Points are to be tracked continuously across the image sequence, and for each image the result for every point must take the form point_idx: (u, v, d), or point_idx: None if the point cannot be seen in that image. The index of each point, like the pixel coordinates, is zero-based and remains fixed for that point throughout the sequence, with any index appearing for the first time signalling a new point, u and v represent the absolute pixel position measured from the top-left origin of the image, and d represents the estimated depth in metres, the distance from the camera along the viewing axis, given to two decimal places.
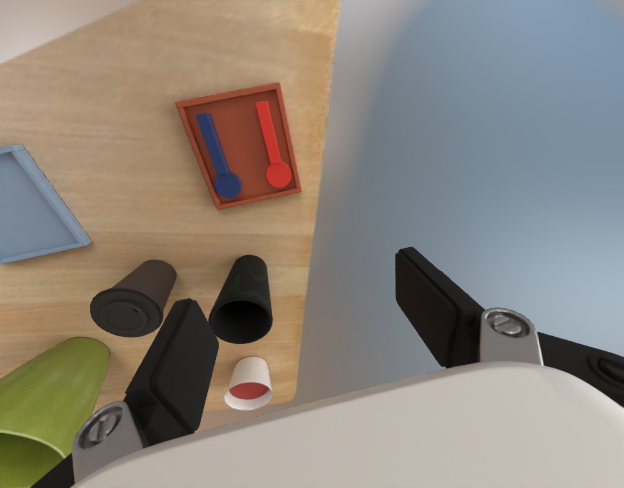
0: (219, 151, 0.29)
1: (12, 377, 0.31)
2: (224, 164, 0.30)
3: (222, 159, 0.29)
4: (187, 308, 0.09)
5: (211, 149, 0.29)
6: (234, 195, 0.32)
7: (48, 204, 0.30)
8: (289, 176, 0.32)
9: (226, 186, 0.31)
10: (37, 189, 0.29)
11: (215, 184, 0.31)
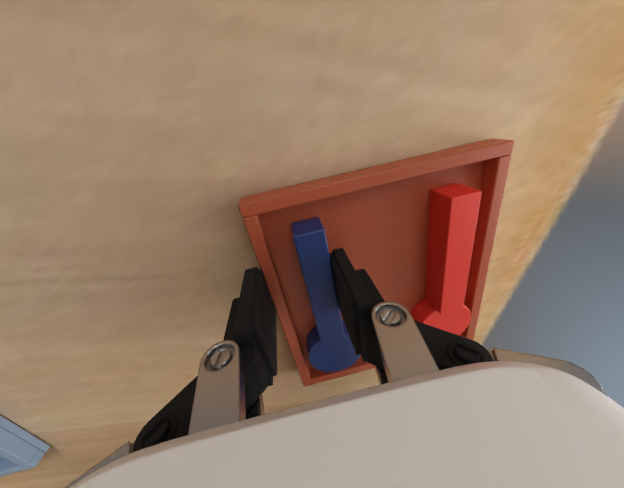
0: (336, 303, 0.12)
1: None
2: (341, 324, 0.13)
3: (339, 317, 0.12)
4: (258, 274, 0.11)
5: (318, 302, 0.12)
6: (346, 366, 0.15)
7: None
8: (465, 325, 0.15)
9: (334, 355, 0.14)
10: None
11: (311, 354, 0.14)
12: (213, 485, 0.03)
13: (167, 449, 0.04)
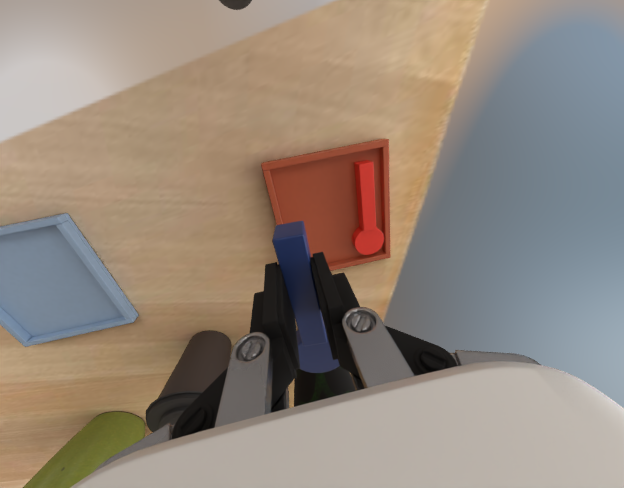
0: (317, 308, 0.12)
1: None
2: (322, 328, 0.13)
3: (320, 321, 0.12)
4: (279, 269, 0.11)
5: (299, 305, 0.12)
6: (329, 369, 0.15)
7: (93, 278, 0.25)
8: (381, 242, 0.26)
9: (317, 357, 0.14)
10: (82, 262, 0.24)
11: None
12: (213, 485, 0.03)
13: (167, 449, 0.04)
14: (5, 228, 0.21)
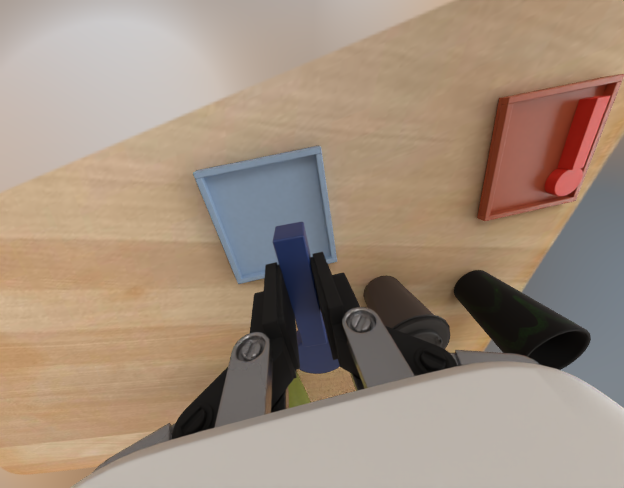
0: (317, 308, 0.12)
1: None
2: (322, 329, 0.13)
3: (320, 321, 0.12)
4: (279, 269, 0.11)
5: (299, 306, 0.12)
6: (329, 370, 0.15)
7: (315, 215, 0.26)
8: (578, 183, 0.28)
9: (317, 357, 0.14)
10: (313, 197, 0.25)
11: None
12: (213, 485, 0.03)
13: (167, 449, 0.04)
14: (274, 156, 0.22)
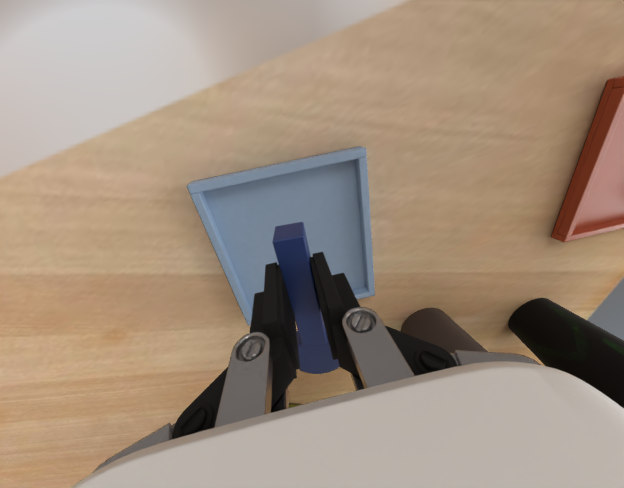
0: (317, 309, 0.12)
1: None
2: (322, 329, 0.13)
3: (320, 322, 0.12)
4: (279, 269, 0.11)
5: (299, 306, 0.12)
6: (329, 370, 0.15)
7: (351, 237, 0.20)
8: None
9: (317, 358, 0.14)
10: (349, 215, 0.19)
11: None
12: (213, 485, 0.03)
13: (167, 449, 0.04)
14: (301, 162, 0.16)
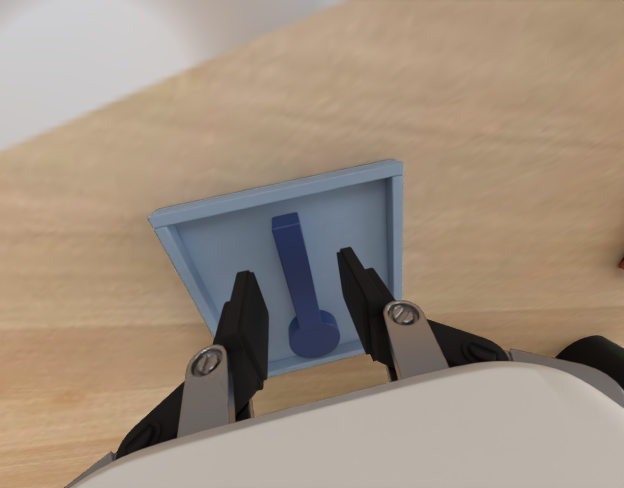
0: (313, 292, 0.13)
1: None
2: (318, 312, 0.14)
3: (316, 305, 0.13)
4: (249, 277, 0.10)
5: (297, 290, 0.13)
6: (325, 353, 0.16)
7: None
8: None
9: (313, 342, 0.15)
10: (374, 249, 0.14)
11: (291, 341, 0.15)
12: (213, 485, 0.03)
13: (167, 449, 0.04)
14: (311, 183, 0.11)
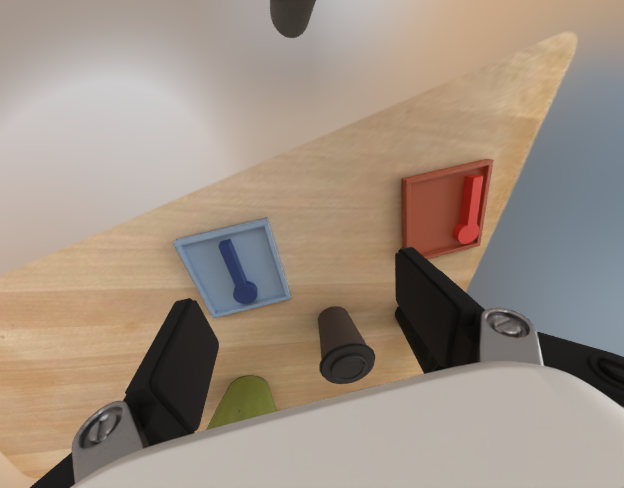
0: (238, 271, 0.32)
1: (233, 422, 0.34)
2: (242, 280, 0.32)
3: (241, 276, 0.32)
4: (187, 308, 0.09)
5: (231, 270, 0.31)
6: (251, 301, 0.35)
7: (270, 265, 0.34)
8: (476, 234, 0.35)
9: (244, 295, 0.34)
10: (267, 253, 0.33)
11: (234, 294, 0.34)
12: (213, 485, 0.03)
13: (167, 449, 0.04)
14: (232, 229, 0.30)
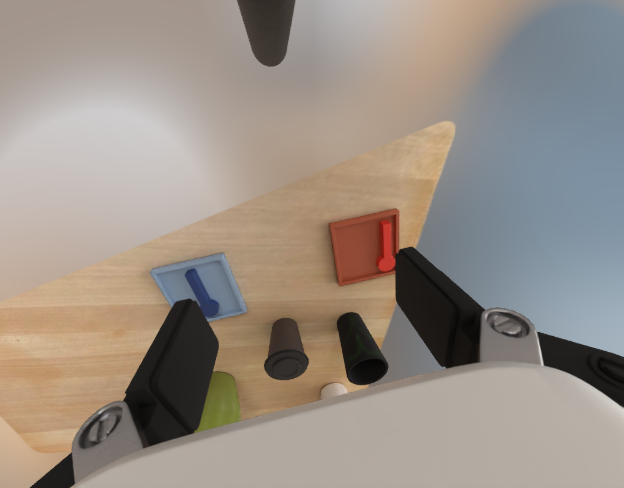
0: (201, 293, 0.41)
1: None
2: (205, 299, 0.42)
3: (204, 297, 0.41)
4: (187, 308, 0.09)
5: (195, 292, 0.41)
6: (213, 315, 0.44)
7: (228, 287, 0.43)
8: (394, 264, 0.45)
9: (207, 310, 0.43)
10: (225, 278, 0.42)
11: None
12: (213, 485, 0.03)
13: (167, 449, 0.04)
14: (195, 262, 0.39)
